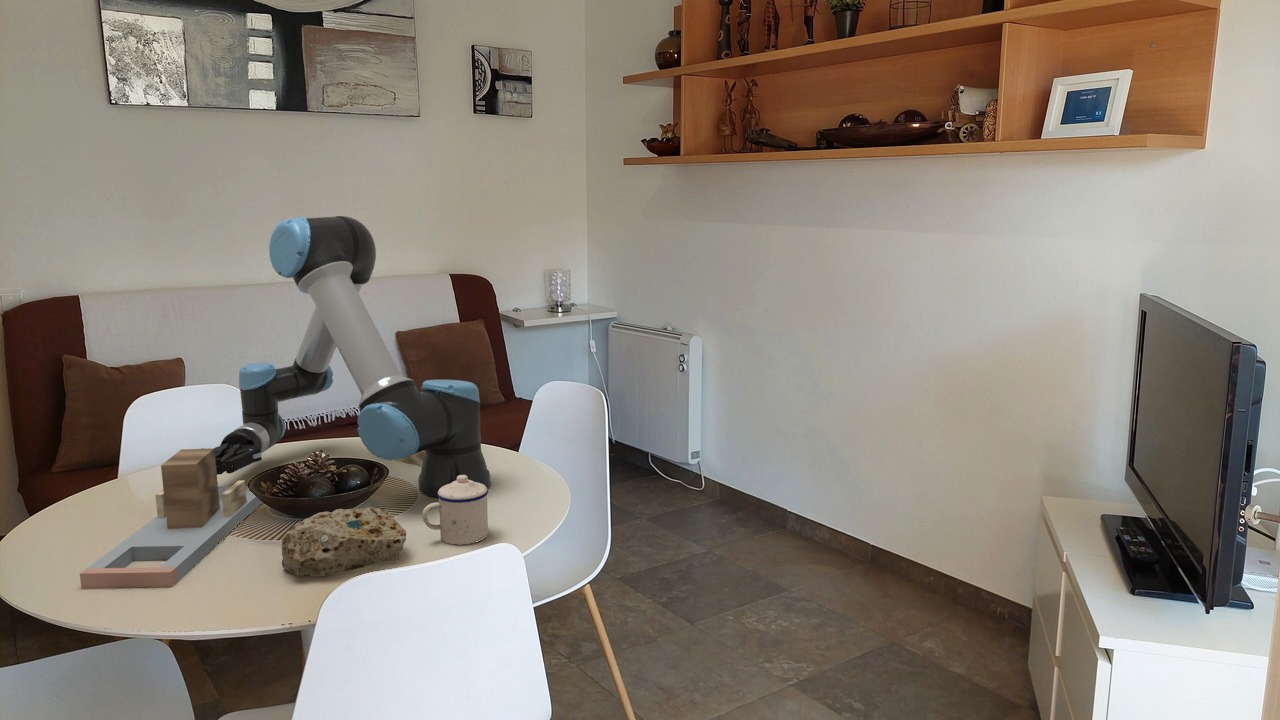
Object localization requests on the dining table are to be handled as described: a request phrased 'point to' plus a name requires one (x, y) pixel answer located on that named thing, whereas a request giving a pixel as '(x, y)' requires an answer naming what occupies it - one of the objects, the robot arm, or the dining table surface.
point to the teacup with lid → (461, 511)
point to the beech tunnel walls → (230, 500)
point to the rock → (342, 541)
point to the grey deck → (163, 550)
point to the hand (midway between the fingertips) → (196, 479)
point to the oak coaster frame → (414, 459)
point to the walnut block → (190, 488)
